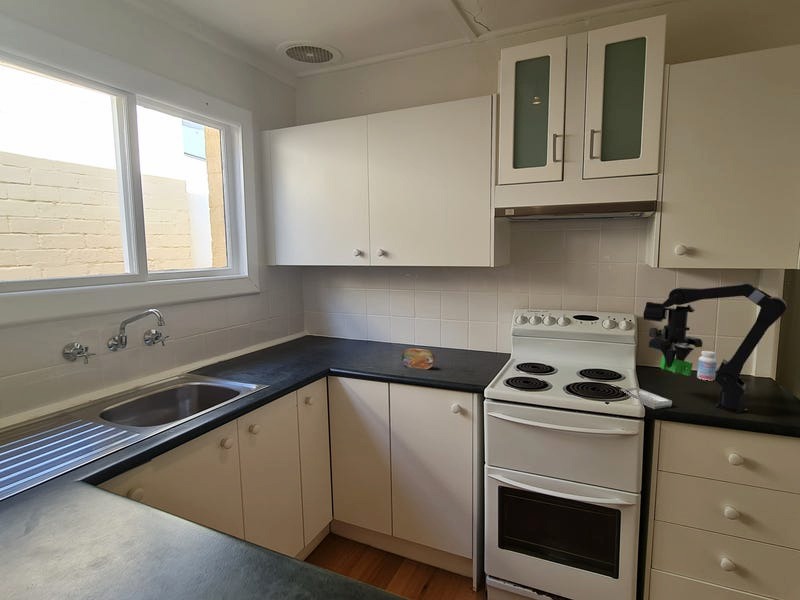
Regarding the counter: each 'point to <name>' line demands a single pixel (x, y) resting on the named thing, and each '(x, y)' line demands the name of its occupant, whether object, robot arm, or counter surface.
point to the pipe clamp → (677, 366)
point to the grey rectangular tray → (649, 398)
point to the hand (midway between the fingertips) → (673, 366)
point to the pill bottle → (707, 366)
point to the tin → (418, 358)
